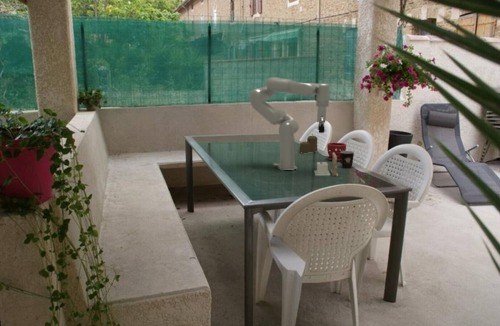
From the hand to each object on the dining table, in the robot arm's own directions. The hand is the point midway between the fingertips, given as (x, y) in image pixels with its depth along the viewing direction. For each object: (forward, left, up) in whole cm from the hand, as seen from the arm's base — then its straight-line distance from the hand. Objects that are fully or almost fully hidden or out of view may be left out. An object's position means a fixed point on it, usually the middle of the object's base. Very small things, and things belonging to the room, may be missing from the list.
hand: (321, 131), depth 265 cm
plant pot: (+14, +34, -26) cm, 45 cm away
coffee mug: (+17, +13, -26) cm, 33 cm away
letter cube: (0, -6, -25) cm, 26 cm away
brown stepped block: (-4, +63, -26) cm, 69 cm away
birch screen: (+8, -6, -26) cm, 27 cm away
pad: (0, -6, -26) cm, 26 cm away
